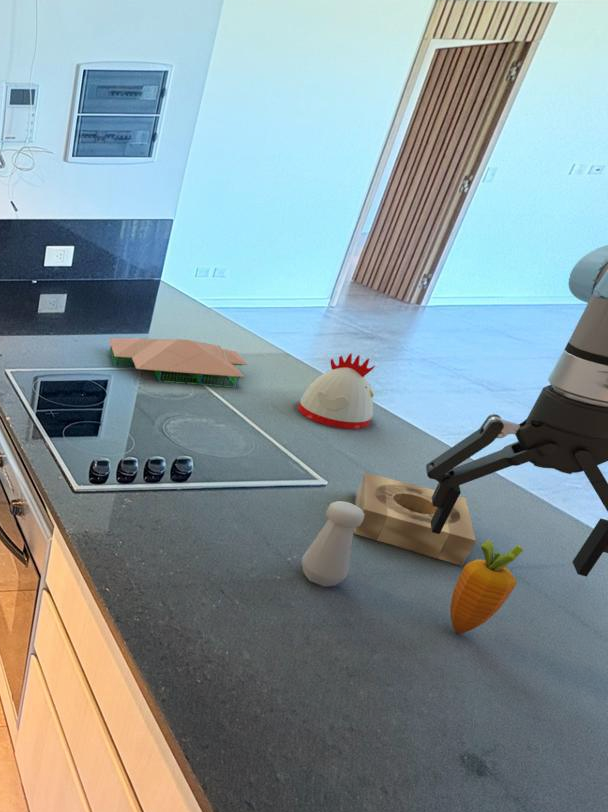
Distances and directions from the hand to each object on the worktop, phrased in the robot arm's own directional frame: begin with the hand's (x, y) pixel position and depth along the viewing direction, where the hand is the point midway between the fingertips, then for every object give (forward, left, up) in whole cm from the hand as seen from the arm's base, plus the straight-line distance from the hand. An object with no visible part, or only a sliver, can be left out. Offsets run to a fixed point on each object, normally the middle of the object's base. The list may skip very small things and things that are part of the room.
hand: (503, 548), depth 77 cm
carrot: (0, 0, -15) cm, 15 cm away
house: (+54, -78, -15) cm, 96 cm away
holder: (+5, -25, -15) cm, 29 cm away
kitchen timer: (+17, -69, -15) cm, 73 cm away
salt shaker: (+16, -2, -15) cm, 22 cm away
